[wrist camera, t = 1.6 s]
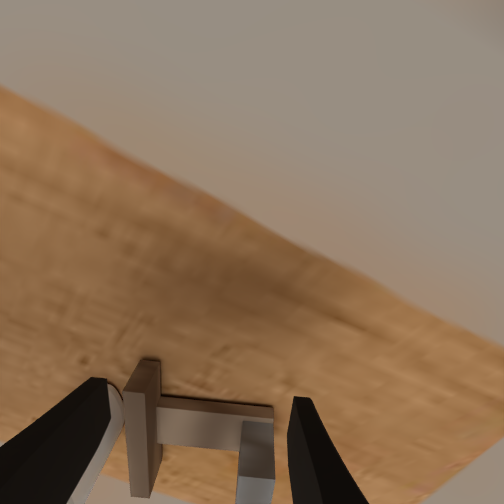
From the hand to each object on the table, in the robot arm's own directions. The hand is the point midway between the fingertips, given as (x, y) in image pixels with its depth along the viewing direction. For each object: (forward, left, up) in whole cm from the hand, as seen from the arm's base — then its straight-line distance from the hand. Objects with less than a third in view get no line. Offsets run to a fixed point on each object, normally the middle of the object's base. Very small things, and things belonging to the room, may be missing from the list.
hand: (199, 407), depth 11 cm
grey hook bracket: (-1, -12, -9) cm, 15 cm away
